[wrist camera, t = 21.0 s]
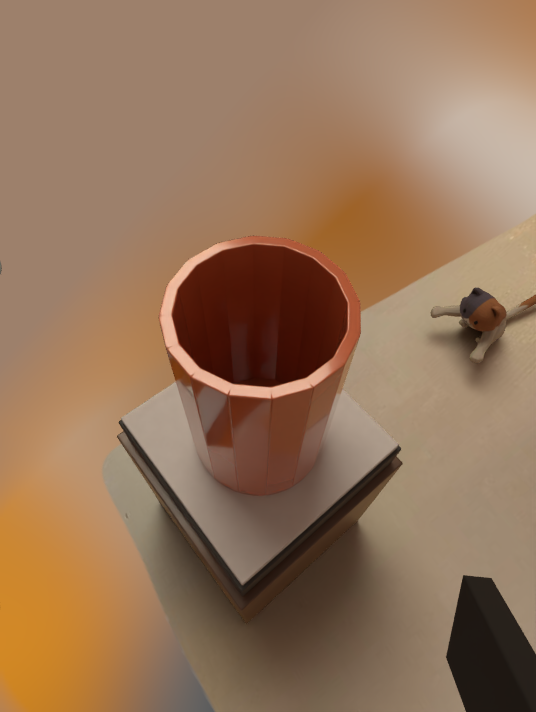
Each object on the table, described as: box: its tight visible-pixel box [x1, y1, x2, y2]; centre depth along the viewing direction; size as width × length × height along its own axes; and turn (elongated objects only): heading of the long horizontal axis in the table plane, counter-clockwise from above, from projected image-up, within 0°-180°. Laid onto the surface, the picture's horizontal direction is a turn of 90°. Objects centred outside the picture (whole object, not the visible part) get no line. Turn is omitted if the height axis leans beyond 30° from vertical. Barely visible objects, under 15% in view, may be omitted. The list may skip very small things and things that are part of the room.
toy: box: [431, 288, 536, 363], centre depth 52 cm, size 8×15×8 cm, turn 119°
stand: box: [117, 431, 402, 624], centre depth 38 cm, size 13×13×16 cm
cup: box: [159, 236, 361, 496], centre depth 23 cm, size 7×7×12 cm
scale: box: [119, 382, 401, 596], centre depth 30 cm, size 12×12×3 cm
